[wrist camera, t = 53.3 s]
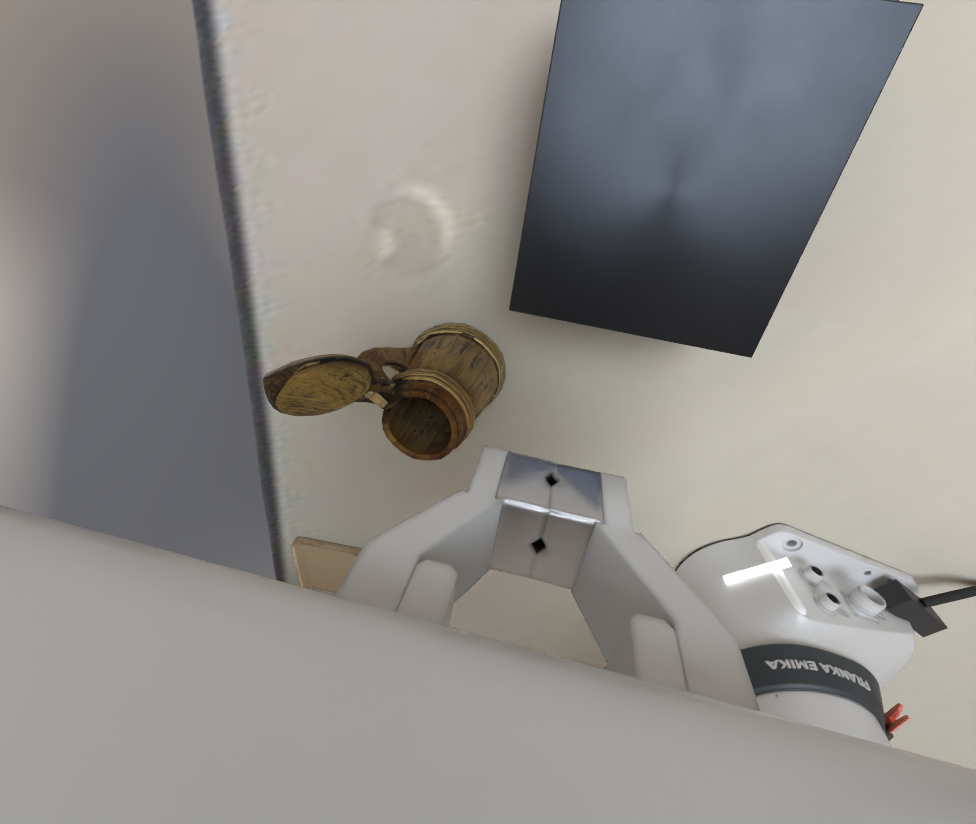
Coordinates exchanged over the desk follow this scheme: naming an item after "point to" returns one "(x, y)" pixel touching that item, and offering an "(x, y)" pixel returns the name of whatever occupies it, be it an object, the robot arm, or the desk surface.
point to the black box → (694, 157)
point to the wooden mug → (402, 387)
